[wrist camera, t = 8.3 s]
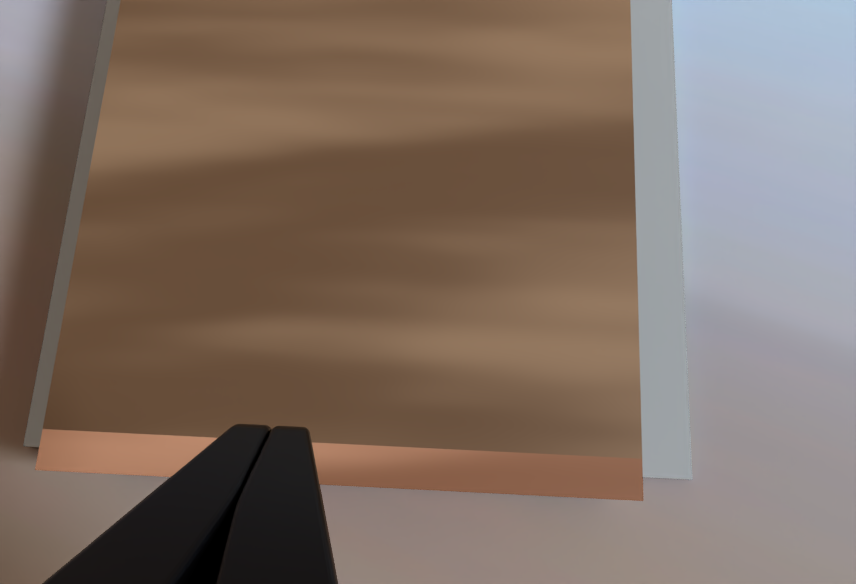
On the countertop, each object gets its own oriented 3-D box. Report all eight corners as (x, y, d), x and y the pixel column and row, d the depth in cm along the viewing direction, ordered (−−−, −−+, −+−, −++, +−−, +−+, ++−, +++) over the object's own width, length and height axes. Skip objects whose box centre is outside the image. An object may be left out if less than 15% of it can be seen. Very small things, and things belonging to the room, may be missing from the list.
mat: (687, 479, 17) (692, 479, 17) (30, 447, 18) (23, 446, 17) (665, -77, 21) (668, -85, 21) (130, -96, 22) (126, -104, 22)
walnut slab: (643, 500, 14) (627, -95, 18) (35, 470, 14) (141, -112, 18) (607, 497, 17) (600, -14, 21) (102, 472, 17) (181, -29, 21)
